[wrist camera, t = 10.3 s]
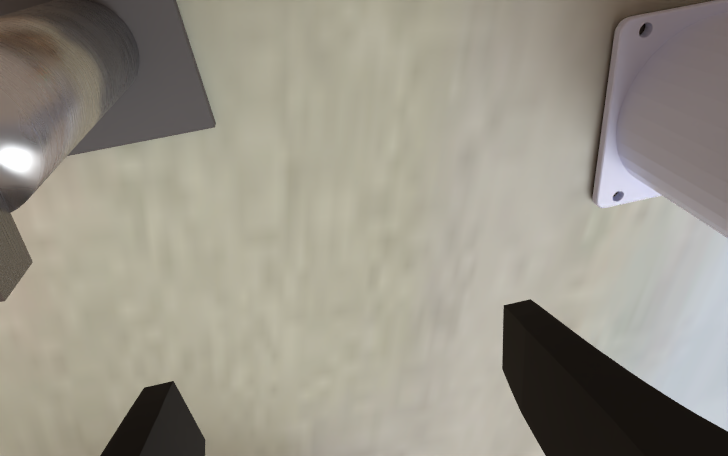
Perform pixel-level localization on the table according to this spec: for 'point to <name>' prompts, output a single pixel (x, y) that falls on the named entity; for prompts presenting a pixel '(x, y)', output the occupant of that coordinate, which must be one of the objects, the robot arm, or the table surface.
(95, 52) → the grey upright piece
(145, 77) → the rubber mat
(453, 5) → the table surface
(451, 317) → the table surface
